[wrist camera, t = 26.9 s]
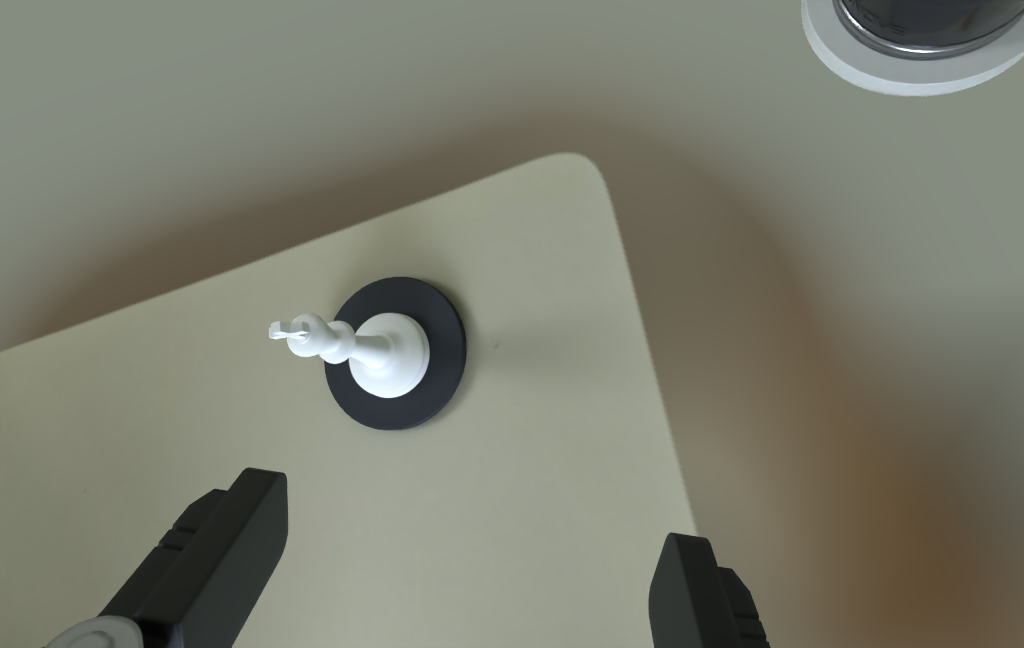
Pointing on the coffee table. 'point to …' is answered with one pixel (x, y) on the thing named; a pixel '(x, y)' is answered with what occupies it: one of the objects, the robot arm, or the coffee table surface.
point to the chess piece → (364, 349)
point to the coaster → (443, 360)
